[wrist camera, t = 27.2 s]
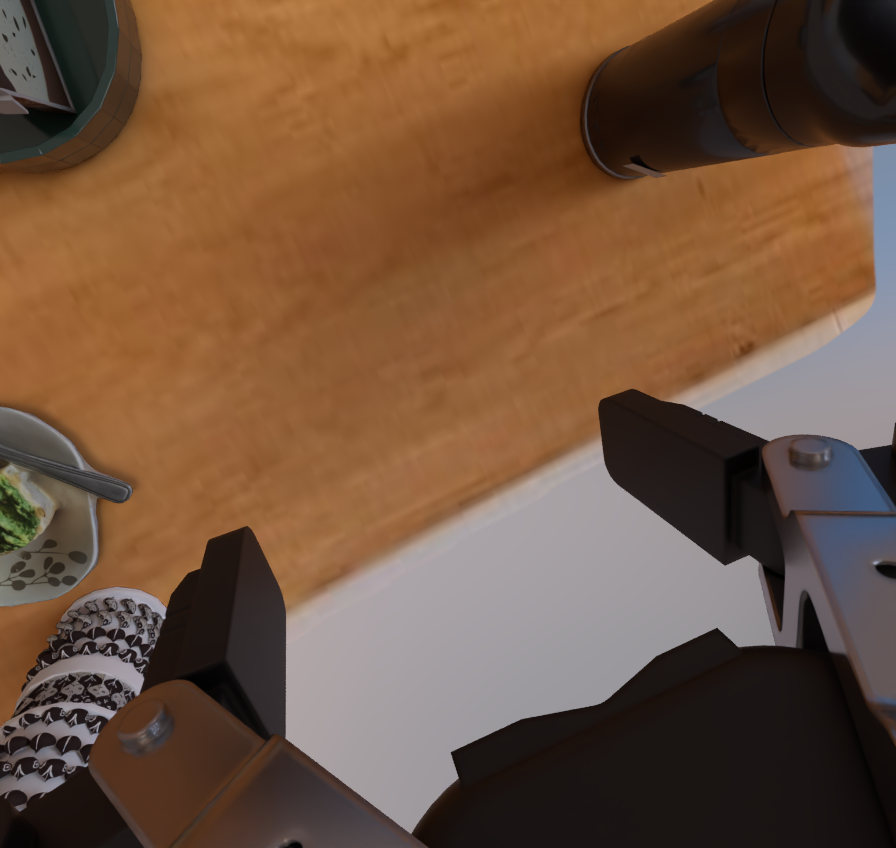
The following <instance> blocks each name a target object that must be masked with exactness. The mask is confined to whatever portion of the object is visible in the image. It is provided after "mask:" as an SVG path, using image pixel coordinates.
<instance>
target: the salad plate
mask: <svg viewBox="0 0 896 848" xmlns="http://www.w3.org/2000/svg"><path fill="white" fill-rule="evenodd" d="M132 492H133V489H132V487H131V486H130V485H129V484H128V483H126V482H124V481H122V480H119V479H117V478H114V477H111V476H108V475H106V474H103V473H100V472H97V471H96V470H94V469H93V468H92V467H91V466H89V465H88V464H87V463H86V461H85V460H84V458H83V457H82V456H81V455H80V453H79V451H78V450H77V448H76V447H75V446H74V444H73V443H72V442H71V441H70V440H69V439H68V438H67V437H65V436H64V435H62V434H61V433H60V432H59V431H57V430H56V429H54V428H53V427H51V426H50V425H48V424H47V423H45V422H44V421H42V420H40V419H39V418H38V417H37V416H35V415H34V414H31V413H28V412H23V411H19V410H16V409H13V408H7V407H0V607H2V606H16V605H20V604H27V603H34V602H40V601H47V600H51V599H54V598H57V597H59V596H61V595H63V594H65V593H67V592H68V591H70V590H71V589H72V588H74V587H76V586H77V585H78V584H79V583H80V582H81V581H82V580H83V579H84V578H85V577H86V576H87V575H88V574H89V573H90V572H91V571H92V570H93V569H94V568H95V566H96V565H97V562H98V556H99V544H98V521H97V516H96V503H97V499H98V498H103V499H106V500H109V501H112V502H114V503H123V502H125V501H127V500H129V498H130V496H131V494H132Z"/></svg>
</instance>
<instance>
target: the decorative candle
mask: <svg viewBox="0 0 896 848" xmlns="http://www.w3.org/2000/svg"><path fill="white" fill-rule="evenodd" d="M166 610H167V608H166V607H165V606H164V605H163V604H162V603H161V602H160V601H159V600H158V598H156V597H154V596H152V595H150V594H148V593H145V592H143V591H141V590H139V589H131V588H123V587H113V588H107V589H101V590H95V591H93V592H91V593H89V594H87V595H85V596H83V597H81V598H79V599H77V600H76V601H75V602H74V603H73V604H72V605H71V606H70V607H69V609H68V610H67V611H66V612H65V613H64V614H63V616H62V618H61V621H60V622H58V623H57V624H56V628H57V629H59V631H58V635H51V636H49V637H48V639H47V642H48V643H50V645H49V649H45V650H43V652H42V653H40V654H39V655H38V657H37V660H36V661H37V663H38V665H36V666H35V667H33V668H32V669H31V670H30V671H29V672H28V673H27V676H26V678H27V680H28V681H27V682H26V683H25V684H24V685H23V686H22V690H21V692H22V694H21V696H20V697H19V699H18V701H17V703H16V707H15V712H14V714H13V715H12V717H11V719H10V720H9V721H7V722H5V723H4V724H3V725H2V726H1V728H0V797H4V798H5V799H7V800H8V801H9V802H10V803H11V804H12V805H13V806H14V807H15V808H16V809H17V810H18V811H19V812H20V811H22V810H23V809H25V808H26V807H28V806H29V805H31V804H32V803H34V802H35V801H37V800H38V799H40V798H41V797H43V796H44V795H46V794H47V793H49V792H50V791H52V790H53V789H55V788H56V787H58V786H59V785H61V784H62V783H64V782H65V781H67V780H69V779H70V778H72V777H73V776H74V775H76V774H77V773H79V772H80V771H81V770H83V769H84V768H85V767H87V766H88V760H89V754H90V751H91V748H92V746H93V744H94V742H95V740H96V738H97V736H98V735H99V733H100V732H101V730H102V729H103V727H104V726H105V725H106V724H107V722H108V721H109V720H110V719H111V718H112V717H113V716H114V715H115V714H116V713H117V712H118V711H119V710H120V709H121V708H122V707H123V706H124V705H125V704H127V703H128V702H129V701H131V700H132V699H133V698H135V697H136V696H138V695H139V694H140V691H141V688H142V684H143V681H144V678H145V675H146V672H147V669H148V666H149V663H150V660H151V656H152V653H153V650H154V647H155V644H156V641H157V638H158V637H159V636H160V633H159V632H160V628H161V625H162V622H163V619H165V618H166V617H165V613H166Z"/></svg>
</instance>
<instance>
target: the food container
mask: <svg viewBox="0 0 896 848" xmlns="http://www.w3.org/2000/svg"><path fill="white" fill-rule="evenodd" d="M23 106H24V107H28V108H32V109H35V110H39V111H43V112H48V113H56V114H77V112H76V110H75V107H74V104H73V102H72V99H71V97H70V94H69V91H68V89H67V86H66V83H65V81H64V78H63V75H62V73H61V70H60V68H59V65H58V62H57V60H56V57H55V54H54V52H53V49H52V46H51V44H50V41H49V39H48V36H47V33H46V31H45V28H44V25H43V23H42V20H41V17H40V15H39V12H38V10H37V7H36V4H35V2H34V0H0V113H2V114H29V113H28V110H27V109H26V108H24V107H23Z"/></svg>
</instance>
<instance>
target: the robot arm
mask: <svg viewBox="0 0 896 848" xmlns="http://www.w3.org/2000/svg"><path fill="white" fill-rule="evenodd" d="M581 125H582V133H583V138H584V142H585V145H586V148H587V150H588V152H589V154H590V156H591V158H592V159H593V161H594V162H595V163H596V165H597V166H598V167H599V168H600V169H601V170H602V171H604V172H605V173H607V174H608V175H610V176H613V177H615V178H619V179H635V178H640V177H644V176H647V175H650V176H652V177H655V178H657V177H664V176H666V175H663V174H660V173H665V172H671V171H677V170H683V169H689V168H695V167H701V166H707V165H713V164H719V163H725V162H731V161H737V160H743V159H749V158H755V157H761V156H767V155H773V154H779V153H784V152H790V151H796V150H802V149H808V148H814V147H820V146H828V145H834V144H840V145H844V146H850V147H870V146H880V145H887V144H896V0H713V1H712V2H710V3H708V4H706V5H704V6H703V7H701V8H699V9H697V10H695V11H693V12H692V13H690V14H688V15H686V16H684V17H682V18H681V19H679V20H677V21H675V22H673V23H672V24H670V25H668V26H666V27H664V28H662V29H661V30H659V31H657V32H655V33H653V34H652V35H649V36H647V37H646V38H644V39H642V40H640V41H638V42H637V43H635V44H633V45H631V46H627V47H625V48H623V49H621V50H619V51H617V52H615V53H614V54H612V55H611V56H609V57H608V58H607V59H606V60H605V61H604V62H603V63H602V64H601V65H600V66H599V67H598V69H597V70H596V71H595V73H594V75H593V76H592V78H591V80H590V82H589V84H588V87H587V89H586V92H585V96H584V100H583V105H582V114H581ZM598 411H599V420H600V429H601V437H602V446H603V454H604V461H605V465H606V468H607V470H608V472H609V474H610V476H611V477H612V479H613V480H614V481H615V482H616V483H617V484H618V485H619V486H620V487H622V488H623V489H624V490H626V491H627V492H628V493H630V494H631V495H632V496H634V497H635V498H636V499H638V500H639V501H640V502H642V503H643V504H644V505H646V506H647V507H648V508H649V509H651V510H652V511H654V512H655V513H656V514H657V515H659V516H660V517H661V518H663V519H664V520H665V521H667V522H668V523H669V524H671V525H672V526H673V527H675V528H676V529H677V530H679V531H680V532H681V533H682V534H684V535H685V536H686V537H688V538H689V539H691V540H692V541H693V542H694V543H696V544H697V545H698V546H700V547H701V548H702V549H704V550H705V551H706V552H708V553H709V554H710V555H712V556H713V557H714V558H716V559H717V560H718V561H720V562H721V563H722V564H724V565H727V564H729V563H732V562H734V561H736V560H738V559H741V558H743V557H746V556H748V555H750V556H752V557H753V558H754V559H756V560H757V561H759V570H758V571H759V578H760V582H761V586H762V591H763V595H764V599H765V603H766V607H767V611H768V615H769V620H770V624H771V628H772V632H773V636H774V641H775V645H776V646H764V645H763V646H748V647H739V648H738V647H737V646H736V645H735V644H734V643H733V642H732V641H731V640H730V639H729V638H728V637H726V636H725V635H724V634H723V633H722V632H721V631H720V630H719V629H718V628H716V629H714V630H712V631H709V632H707V633H705V634H703V635H701V636H699V637H697V638H695V639H692V640H690V641H688V642H686V643H684V644H682V645H680V646H678V647H675V648H673V649H671V650H669V651H667V652H665V653H662V654H660V655H658V656H656V657H655V658H654V659H653V660H652V661H651V662H650V663H648V664H647V665H646V666H645V667H644V668H643V669H642V670H641V671H639V672H638V673H637V674H636V675H635V676H634V677H633V678H631V679H630V680H629V681H628V682H627V683H626V684H625V685H623V686H622V687H621V688H620V689H619V690H618V691H617V692H616V693H614V694H613V695H612V696H611V697H610V698H609V699H607V700H606V701H605V702H603V703H601V704H598V705H595V706H589V707H585V708H579V709H573V710H568V711H563V712H558V713H552V714H548V715H542V716H537V717H531V718H526V719H521V720H519V721H517V722H515V723H512V724H510V725H508V726H506V727H504V728H502V729H500V730H498V731H495V732H493V733H491V734H489V735H487V736H485V737H483V738H480V739H478V740H476V741H474V742H472V743H470V744H468V745H466V746H463V747H461V748H459V749H457V750H455V751H453V752H451V755H452V758H453V761H454V764H455V767H456V770H457V774H458V777H459V779H457V780H456V781H455V782H454V783H453V784H452V785H451V786H450V787H448V788H447V789H446V790H445V791H444V792H443V793H442V794H441V796H440V797H439V798H438V799H437V800H436V801H435V802H434V803H433V804H432V805H431V806H430V808H429V809H428V810H427V812H426V813H425V814H424V816H423V817H422V819H421V820H420V821H419V823H418V824H417V826H416V827H415V829H414V830H413V832H412V834H410V833H409V832H407V831H406V830H405V829H403V828H402V827H400V826H399V825H398V824H397V823H395V822H394V821H393V820H392V819H390V818H389V817H388V816H386V815H385V814H384V813H382V812H381V811H380V810H378V809H377V808H376V807H374V806H373V805H372V804H370V803H369V802H368V801H367V800H365V799H364V798H363V797H361V796H360V795H359V794H357V793H356V792H354V791H353V790H352V789H351V788H349V787H348V786H347V785H346V784H344V783H343V782H342V781H340V780H339V779H338V778H336V777H335V776H334V775H332V774H331V773H330V772H328V771H327V770H326V769H325V768H323V767H322V766H320V765H319V764H318V763H317V762H315V761H314V760H313V759H311V758H310V757H309V756H307V755H306V754H305V753H303V752H302V751H301V750H300V749H298V748H297V747H295V746H294V745H293V744H292V743H290V742H289V741H288V740H286V739H285V734H286V723H285V722H286V721H285V720H286V719H285V718H286V717H285V716H286V715H285V714H286V610H285V604H284V600H283V596H282V593H281V590H280V587H279V585H278V583H277V581H276V578H275V576H274V574H273V572H272V570H271V568H270V566H269V564H268V562H267V560H266V558H265V556H264V553H263V551H262V549H261V547H260V545H259V543H258V541H257V539H256V537H255V535H254V533H253V531H252V530H251V529H250V528H249V527H248V526H246V527H243V528H240V529H237V530H234V531H231V532H229V533H226V534H223V535H220V536H217V537H215V538H212V539H209V541H208V543H207V546H206V550H205V554H204V558H203V561H202V565H201V569H198V570H195V571H193V572H190V573H188V574H187V575H186V576H185V578H184V579H183V580H182V582H181V583H180V584H179V585H178V587H177V588H176V589H175V591H174V592H173V593H172V594H171V597H170V600H169V604H168V607H167V610H166V613H165V617H166V618H165V619H163V622H162V625H161V628H160V632H159V633H160V636H159V637H158V638H157V641H156V644H155V647H154V650H153V653H152V656H151V660H150V663H149V666H148V669H147V672H146V675H145V678H144V681H143V684H142V688H141V691H140V694H139V695H138V696H136V697H135V698H133V699H132V700H131V701H129V702H128V703H127V704H125V705H124V706H123V707H122V708H121V709H120V710H119V711H118V712H117V713H116V714H115V715H114V716H113V717H112V718H111V719H110V720H109V721H108V722H107V724H106V725H105V726H104V727H103V729H102V730H101V732H100V733H99V735H98V736H97V738H96V740H95V742H94V744H93V746H92V748H91V751H90V754H89V760H88V766H87V767H85V768H84V769H83V770H81V771H80V772H79V773H77V774H76V775H74V776H73V777H72V778H70V779H69V780H67V781H65V782H64V783H62V784H61V785H59V786H58V787H56V788H55V789H53V790H52V791H50V792H49V793H47V794H46V795H44V796H43V797H41V798H40V799H38V800H37V801H35V802H34V803H32V804H31V805H29V806H28V807H26V808H25V809H23V810H22V811H20V812H19V811H18V810H17V809H16V808H15V807H14V806H13V805H12V804H11V803H10V802H9V801H8V800H7V799H5V798H4V797H0V848H896V423H895V428H894V434H893V441H892V445H888V446H882V447H876V448H870V449H864V450H857V449H856V448H854V447H853V446H852V445H849V444H848V443H846V442H843V441H841V440H838V439H834V438H830V437H825V436H819V435H790V436H784V437H780V438H777V439H774V440H772V441H767V440H764V439H762V438H760V437H758V436H756V435H753V434H751V433H749V432H746V431H744V430H742V429H739V428H737V427H734V426H732V425H730V424H727V423H725V422H723V421H719V422H718V420H717V419H716V418H714V417H711V416H709V415H707V414H705V415H703V414H702V412H700V411H697V410H695V409H693V408H690V407H688V406H686V405H683V404H677V403H671V402H665V401H660V400H658V399H656V398H654V397H651V396H649V395H647V394H645V393H642V392H640V391H638V390H635V389H629V390H627V391H624V392H621V393H618V394H615V395H612V396H610V397H607V398H604V399H602V400H601V401H600V403H599V407H598Z"/></svg>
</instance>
